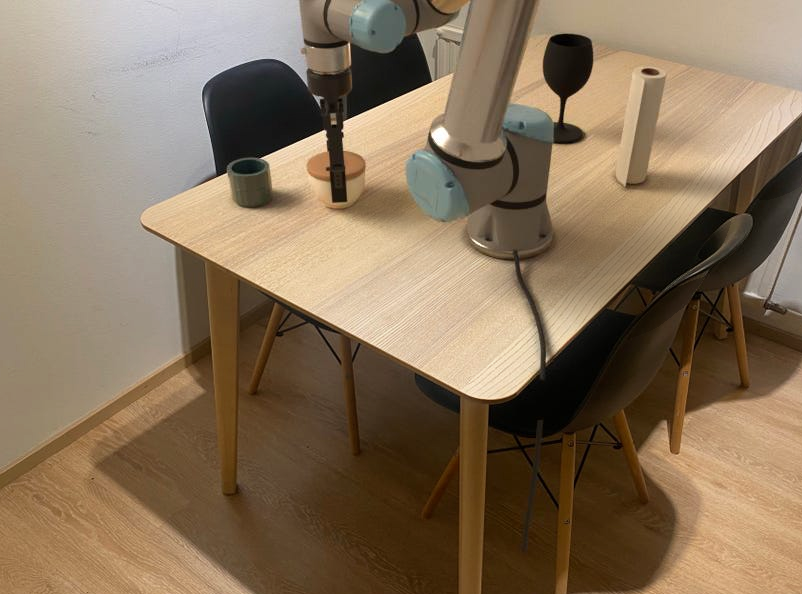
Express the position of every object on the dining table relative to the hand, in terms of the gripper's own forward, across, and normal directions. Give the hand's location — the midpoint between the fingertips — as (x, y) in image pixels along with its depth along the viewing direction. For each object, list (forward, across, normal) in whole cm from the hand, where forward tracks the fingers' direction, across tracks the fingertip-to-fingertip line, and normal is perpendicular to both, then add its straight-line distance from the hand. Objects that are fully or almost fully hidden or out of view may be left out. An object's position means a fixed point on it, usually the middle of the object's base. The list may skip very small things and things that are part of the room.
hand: (337, 186), depth 143 cm
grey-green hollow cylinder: (+3, -3, -16) cm, 17 cm away
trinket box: (+3, 0, 0) cm, 3 cm away
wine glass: (-7, -24, +50) cm, 56 cm away
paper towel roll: (+3, -2, +58) cm, 58 cm away
